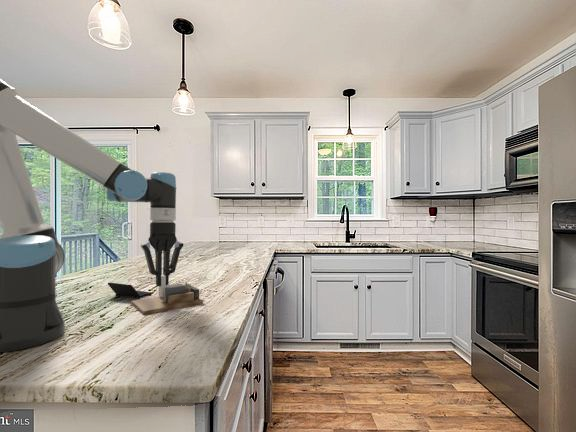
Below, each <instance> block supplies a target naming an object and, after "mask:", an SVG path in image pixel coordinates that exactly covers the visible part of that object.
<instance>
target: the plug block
mask: <svg viewBox="0 0 576 432" xmlns="http://www.w3.org/2000/svg"><path fill="white" fill-rule="evenodd" d="M182 293H185V284H183V283H175V284H168V285H166V288H165V297H162V300H163V301H164V302H166V303H167V302H168V296H170V295H176V294H182Z"/></svg>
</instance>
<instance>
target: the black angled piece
mask: <svg viewBox="0 0 576 432" xmlns="http://www.w3.org/2000/svg"><path fill="white" fill-rule="evenodd" d="M107 284H108V287H110V289H111V290H112V292H114V294H115V296H116V297H124V298H131V299H132V298H133V299H137V300H140V299H143V298H145V297H148V295H149V296H152V295H151V294H153V293H152V292H150V291H142V290H136V289H135V287H134V286H133V285H132V284H126V283H117V282H107Z"/></svg>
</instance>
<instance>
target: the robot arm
mask: <svg viewBox="0 0 576 432" xmlns="http://www.w3.org/2000/svg"><path fill="white" fill-rule="evenodd" d="M17 136H18V137H20V138H22V139H23V140H24V141H26V142H28V143H30V144H31V145H32V146H35V147H36V148H38V149H40V150H41V151H43V152H45V153H46V154H48V155H49V156H51V157H53V158H55V159H57V160H58V161H60V162H62V163H63V164H65V165H66V166H68V167H70V168H72V169H74V170H75V171H77V172H79V173H80V174H82V175H84V176H85V177H87V178H88V179H90V180H92V181H94V182H95V183H97V184H99V185H100V186H102V187H104V188H105V189H106V199H107V200H108V201H109V202H116V203H117V202H118V203H150V207H149V208H150V209H149V210H150V211H149V212H150V213H149V216H150V217H149V220H150V221H151V222H150V224H149V237H148V240H147V241H146V242H145V243H142V244H140V248H141V249H142V251H143V252H144V255H145V259H146V264H147V268H148V271H149V274H151V275H152V276H155V286H156V287H158V297H159V296H160V297H165V288H166V285H170V284H169V283H170V282H169V281H170V280H169V279H170V278H169V277H170V276H171V274H173V273H175V271H176V268H177V265H178V261H179V258H180V254H181V250H182V248H183V247H184V243H183V242H180V241H178V238H177V236H176V223H175V221H176V214H177V213H176V211H177V209H176V208H177V207H176V205H177V204H176V201H177V182H176V181H177V180H176V176H175V174H173V173H172V172H171V173H170V172H166V171H165V172H161V171H160V172H159V171H154V172H151V174H150V177H145V176H144V175H143V174H142V173H140V172H139V171H137V170H134V169H132V168H129V167H128V166H126V165H125V164H123V163H122V162H120V161H119V160H118V159H116V158H114V157H113V156H111V155H110V154H108V153H107V152H104V151H103V150H101V149H100V148H98V147H97V146H96V145H94V144H92V143H91V142H89V141H88V140H86V139H84V138H83V137H82V136H80V135H79V134H77V133H75V132H74V131H72V130H71V129H69V128H68V127H66V126H65V125H63V124H61V123H60V122H58V121H57V120H55V119H54V118H53V117H50V116H49V115H48V114H46V113H44V112H43V111H41V110H40V109H38V108H37V107H35V106H34V105H31V104H30V103H29V102H27V101H26V100H24V99H23V98H22V97H20V96H18V92H17V90H16V88H14V87H13V86H11V85H9V84H8V83H7V82H5V81H3V80H2V79H1V78H0V224H1V228H2V233H1V235H0V353H4V352H6V353H7V352H12V351H13V352H14V351H19V350H24V349H29V348H33V347H37V346H40V345H43V344H45V343H49V342H52V341H53V340H56V339H57V338H60V337H61V336H62V335H64V333H65V332H66V331H65V328H66V327H65V326H66V325H65V320H64V318H63V316H62V313H61V311H60V308H59V306H58V304H57V301H56V300H57V299H56V289H57V288H56V287H57V286H56V275H57V274H58V272H59V271H60V270H61V269H62V268H63V266H64V263H65V258H66V257H65V256H66V255H65V251H64V248H63V247H62V245H61V244H60V243H59V241H58V237H57V234H56V232H55V229H54V226H52V225H50V224H48V223H46V222H45V221H44V216H43V214H42V211H41V208H40V205H39V203H38V199H37V196H36V193H35V190H34V188H33V184H32V181H31V179H30V175H29V172H28V169H27V165H26V162H25V160H24V157H23V153H22V151H21V148H20V145H19V143H18V139H17ZM151 247H152V249H153V250H154V254H155V263H154V260H153V256H152V252H151ZM173 247H174V249H173V253H172V256H171V249H172V248H173ZM170 257H171V258H170ZM170 259H171V260H170ZM162 261H163V262H162Z"/></svg>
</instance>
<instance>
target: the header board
mask: <svg viewBox="0 0 576 432" xmlns="http://www.w3.org/2000/svg"><path fill="white" fill-rule="evenodd" d="M184 285H185V293H182V294H176V295H170V296H168V302H167V303H166V302H164V301H163V300H162V297H160V296H159V295H158V296H153V297H148V298H147V297H146V298H139V299H134V300H131V305H132V306H133V307H134V308H135V309H136V310H137V311H139V312H140V313H141V314H142V315H143V316H144V315H151V314H155V313H160V312H167V311H171V310H176V309H181V308H187V307H192V306H197V305H202V304H204V300H203V299H201V298H200V288H197V287H195V286H193V285H192V284H189V283H187V282H185V283H184Z"/></svg>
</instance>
